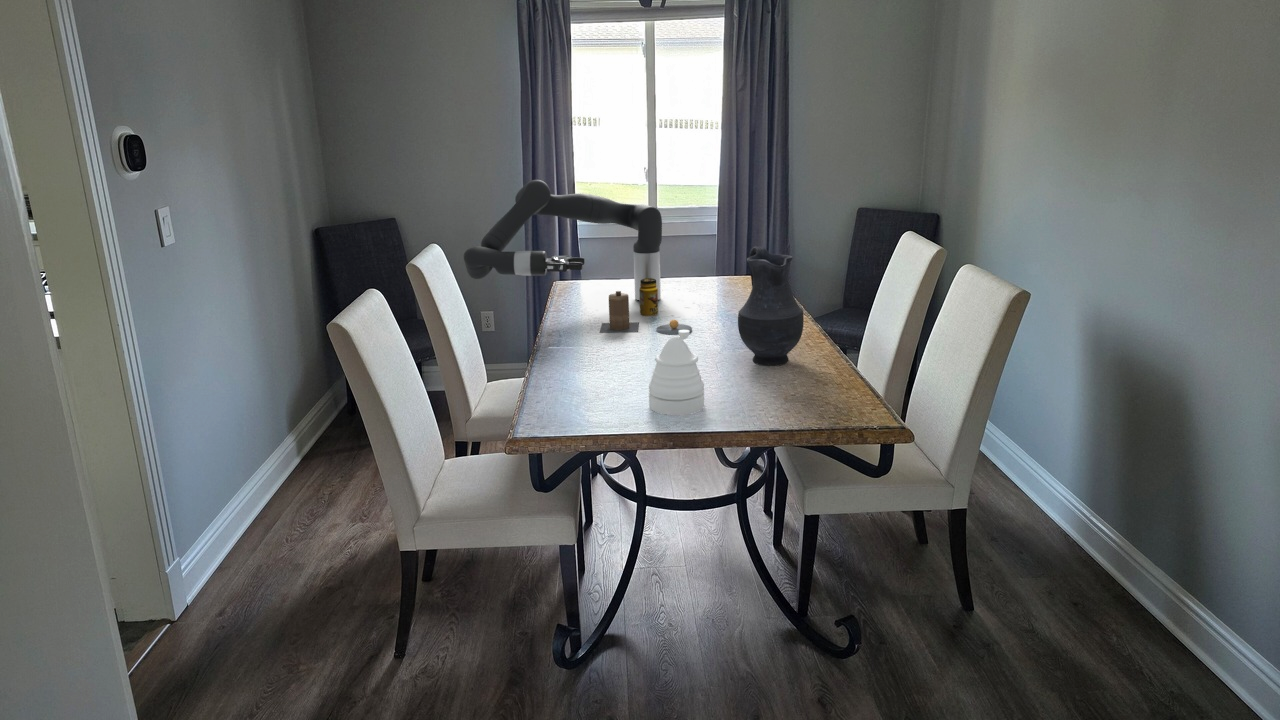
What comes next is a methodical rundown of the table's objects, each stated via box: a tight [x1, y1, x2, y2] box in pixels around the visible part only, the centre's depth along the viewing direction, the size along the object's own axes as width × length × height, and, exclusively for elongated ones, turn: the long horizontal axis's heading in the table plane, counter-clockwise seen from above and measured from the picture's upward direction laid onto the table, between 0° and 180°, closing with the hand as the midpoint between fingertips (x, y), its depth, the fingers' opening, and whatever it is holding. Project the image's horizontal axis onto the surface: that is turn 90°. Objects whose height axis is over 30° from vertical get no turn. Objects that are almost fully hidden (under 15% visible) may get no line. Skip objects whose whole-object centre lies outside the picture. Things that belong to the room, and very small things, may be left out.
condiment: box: [639, 278, 659, 317], centre depth 279 cm, size 7×8×12 cm
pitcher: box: [737, 245, 805, 367], centre depth 225 cm, size 17×21×30 cm
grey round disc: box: [655, 323, 693, 336], centre depth 260 cm, size 11×11×1 cm
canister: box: [608, 290, 630, 330], centre depth 263 cm, size 6×6×12 cm
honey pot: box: [648, 330, 705, 416], centre depth 195 cm, size 13×13×18 cm
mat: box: [598, 321, 640, 334], centre depth 265 cm, size 12×12×1 cm
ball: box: [668, 319, 680, 329], centre depth 260 cm, size 3×3×3 cm
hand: (583, 263), depth 259 cm, fingers open, 8 cm apart
